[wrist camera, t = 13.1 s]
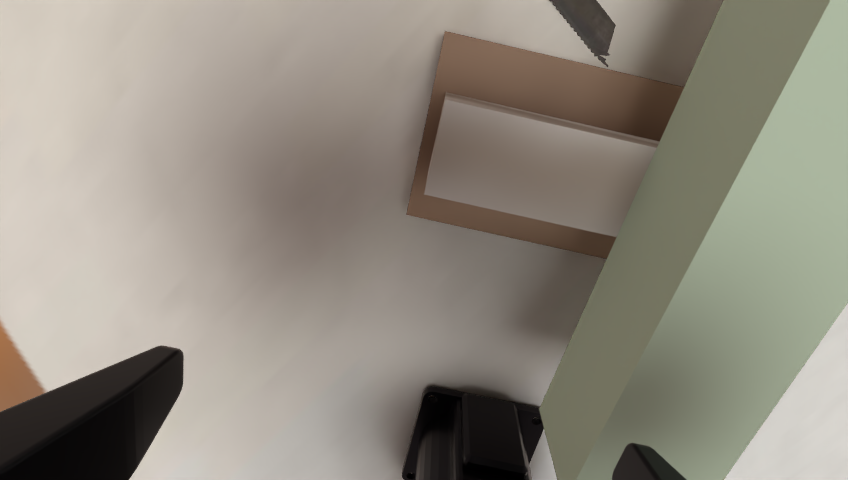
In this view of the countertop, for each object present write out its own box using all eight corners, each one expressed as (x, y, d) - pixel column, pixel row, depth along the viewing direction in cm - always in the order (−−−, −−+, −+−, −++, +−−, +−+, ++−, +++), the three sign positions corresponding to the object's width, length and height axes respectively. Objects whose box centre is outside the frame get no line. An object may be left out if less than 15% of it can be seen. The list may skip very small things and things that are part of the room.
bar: (636, 433, 18) (687, 532, 14) (539, 409, 17) (563, 503, 14) (946, -111, 11) (1198, -198, 7) (794, -158, 11) (975, -273, 7)
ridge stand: (796, 289, 20) (898, 356, 16) (409, 204, 20) (397, 247, 15) (886, 137, 18) (1040, 163, 13) (445, 33, 17) (444, 23, 13)
